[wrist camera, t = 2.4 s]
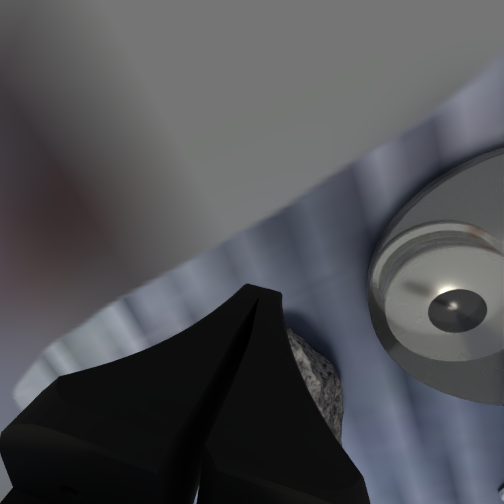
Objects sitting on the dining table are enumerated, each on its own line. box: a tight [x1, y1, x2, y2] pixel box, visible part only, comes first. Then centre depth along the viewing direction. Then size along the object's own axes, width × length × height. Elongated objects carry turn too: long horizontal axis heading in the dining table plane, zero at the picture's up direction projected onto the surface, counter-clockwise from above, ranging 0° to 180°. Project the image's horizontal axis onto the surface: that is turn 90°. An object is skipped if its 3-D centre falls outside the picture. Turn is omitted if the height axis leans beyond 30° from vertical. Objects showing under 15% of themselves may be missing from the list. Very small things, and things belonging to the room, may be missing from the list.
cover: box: [371, 220, 504, 361], centre depth 14 cm, size 6×6×3 cm
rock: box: [198, 327, 344, 488], centre depth 23 cm, size 13×6×15 cm
